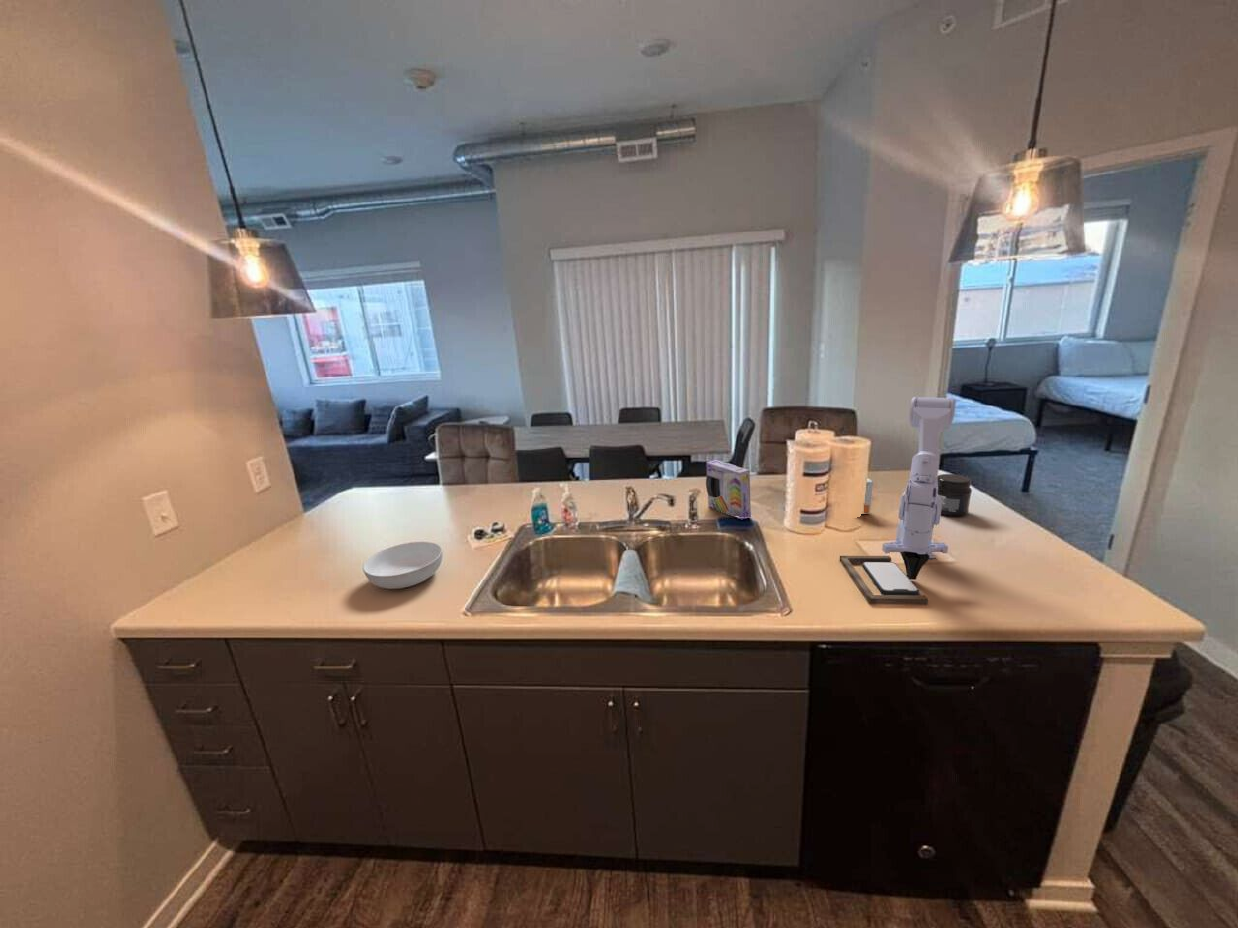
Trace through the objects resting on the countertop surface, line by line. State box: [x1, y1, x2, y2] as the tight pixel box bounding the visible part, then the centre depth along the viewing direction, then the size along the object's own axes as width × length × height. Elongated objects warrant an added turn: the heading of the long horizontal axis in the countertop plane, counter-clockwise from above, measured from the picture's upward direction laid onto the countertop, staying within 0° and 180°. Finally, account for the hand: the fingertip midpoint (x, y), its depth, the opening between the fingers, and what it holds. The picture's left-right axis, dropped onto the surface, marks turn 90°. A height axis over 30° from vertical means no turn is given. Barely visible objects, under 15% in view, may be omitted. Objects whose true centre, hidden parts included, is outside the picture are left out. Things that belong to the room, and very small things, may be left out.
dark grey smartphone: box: [861, 561, 920, 595], centre depth 127 cm, size 9×2×16 cm
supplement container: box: [937, 473, 973, 518], centre depth 165 cm, size 10×10×12 cm
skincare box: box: [864, 477, 874, 515], centre depth 168 cm, size 6×4×12 cm
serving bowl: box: [362, 541, 443, 590], centre depth 141 cm, size 21×21×7 cm
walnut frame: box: [838, 555, 929, 606], centre depth 127 cm, size 22×13×2 cm, turn 174°
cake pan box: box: [705, 459, 752, 517], centre depth 174 cm, size 19×5×18 cm, turn 28°
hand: (911, 577), depth 126 cm, fingers closed
